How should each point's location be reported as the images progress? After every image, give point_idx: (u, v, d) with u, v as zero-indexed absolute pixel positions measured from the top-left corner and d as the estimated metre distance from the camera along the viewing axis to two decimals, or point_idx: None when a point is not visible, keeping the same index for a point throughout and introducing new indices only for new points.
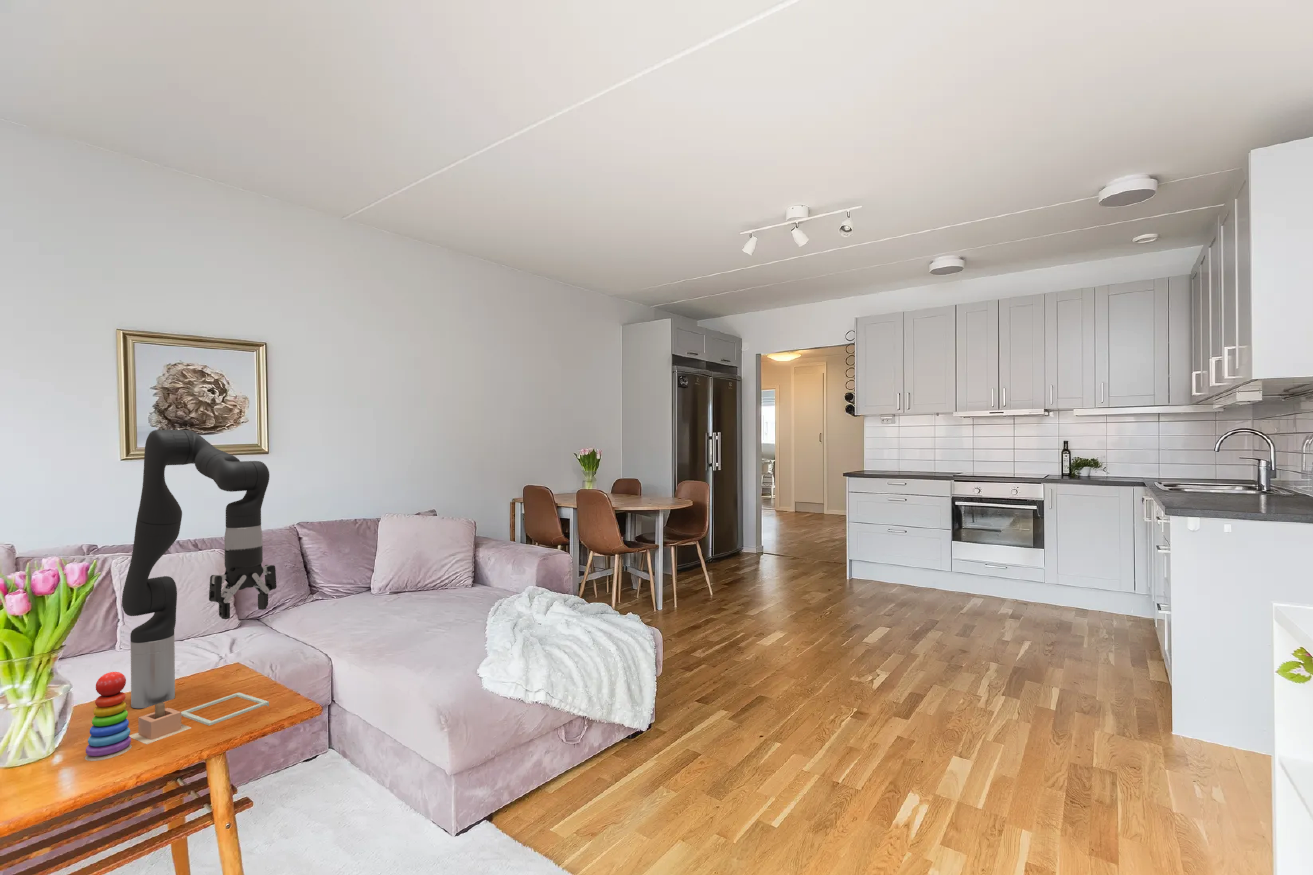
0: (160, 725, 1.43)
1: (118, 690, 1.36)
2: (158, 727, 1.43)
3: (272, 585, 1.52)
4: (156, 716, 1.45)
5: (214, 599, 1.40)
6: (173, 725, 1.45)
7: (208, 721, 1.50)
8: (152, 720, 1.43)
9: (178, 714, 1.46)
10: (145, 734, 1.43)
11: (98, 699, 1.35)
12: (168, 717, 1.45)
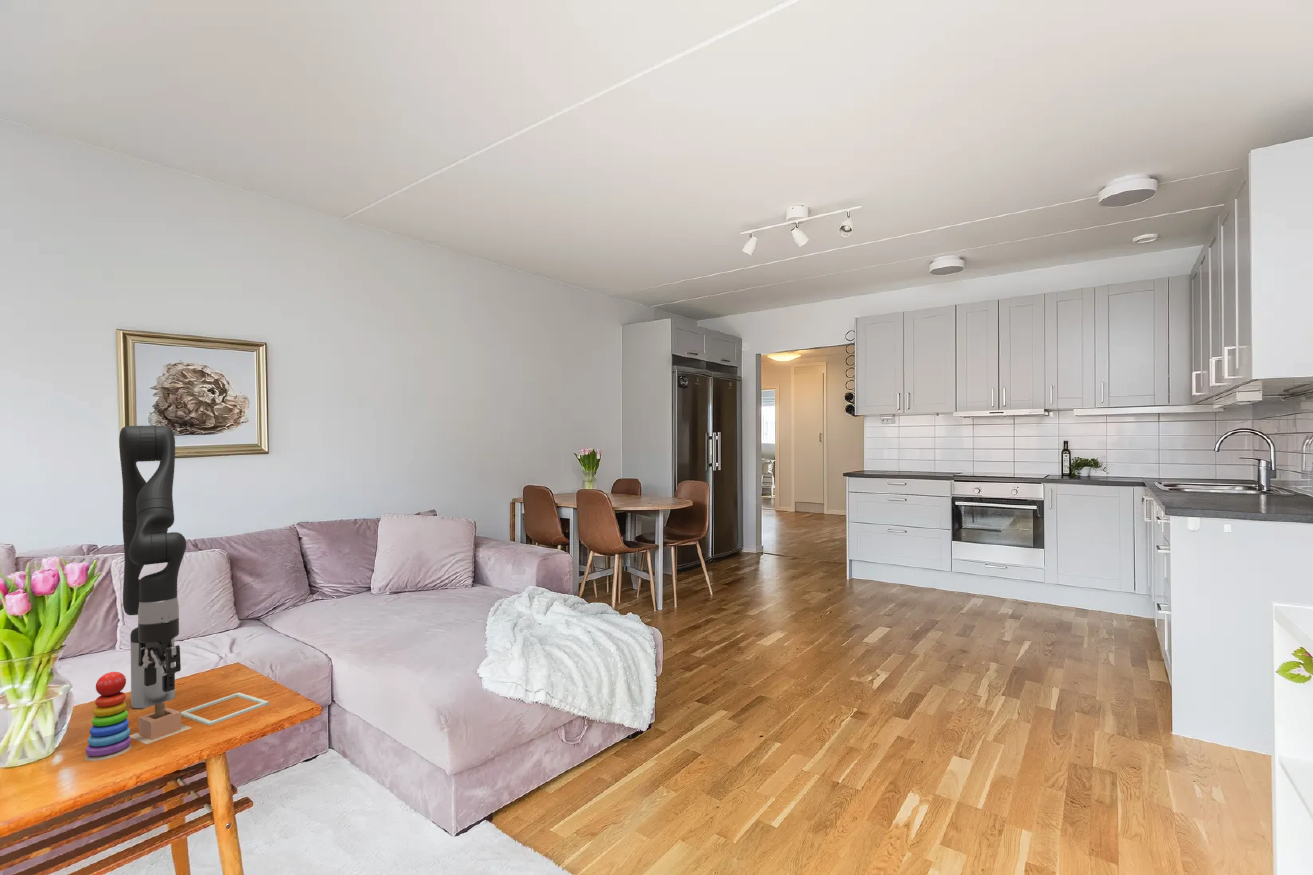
0: (160, 725, 1.43)
1: (118, 690, 1.36)
2: (158, 727, 1.43)
3: None
4: (156, 716, 1.45)
5: (178, 668, 1.43)
6: (173, 725, 1.45)
7: (208, 721, 1.50)
8: (152, 720, 1.43)
9: (178, 714, 1.46)
10: (145, 734, 1.43)
11: (98, 699, 1.35)
12: (168, 717, 1.45)
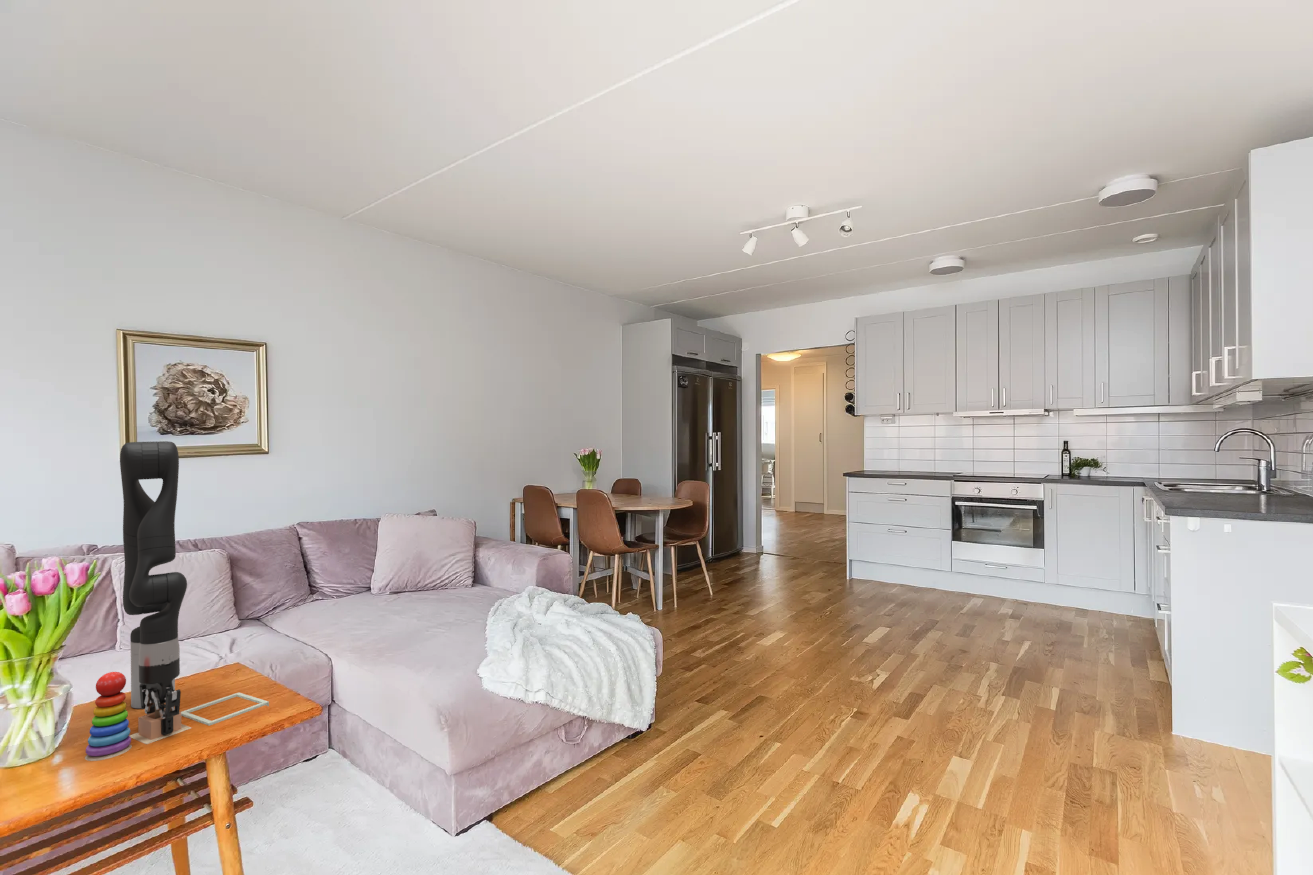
0: (160, 725, 1.43)
1: (118, 690, 1.36)
2: (158, 727, 1.43)
3: None
4: (156, 716, 1.45)
5: (177, 712, 1.43)
6: (173, 725, 1.45)
7: (208, 721, 1.50)
8: (152, 720, 1.43)
9: (178, 714, 1.46)
10: (145, 734, 1.43)
11: (98, 699, 1.35)
12: None
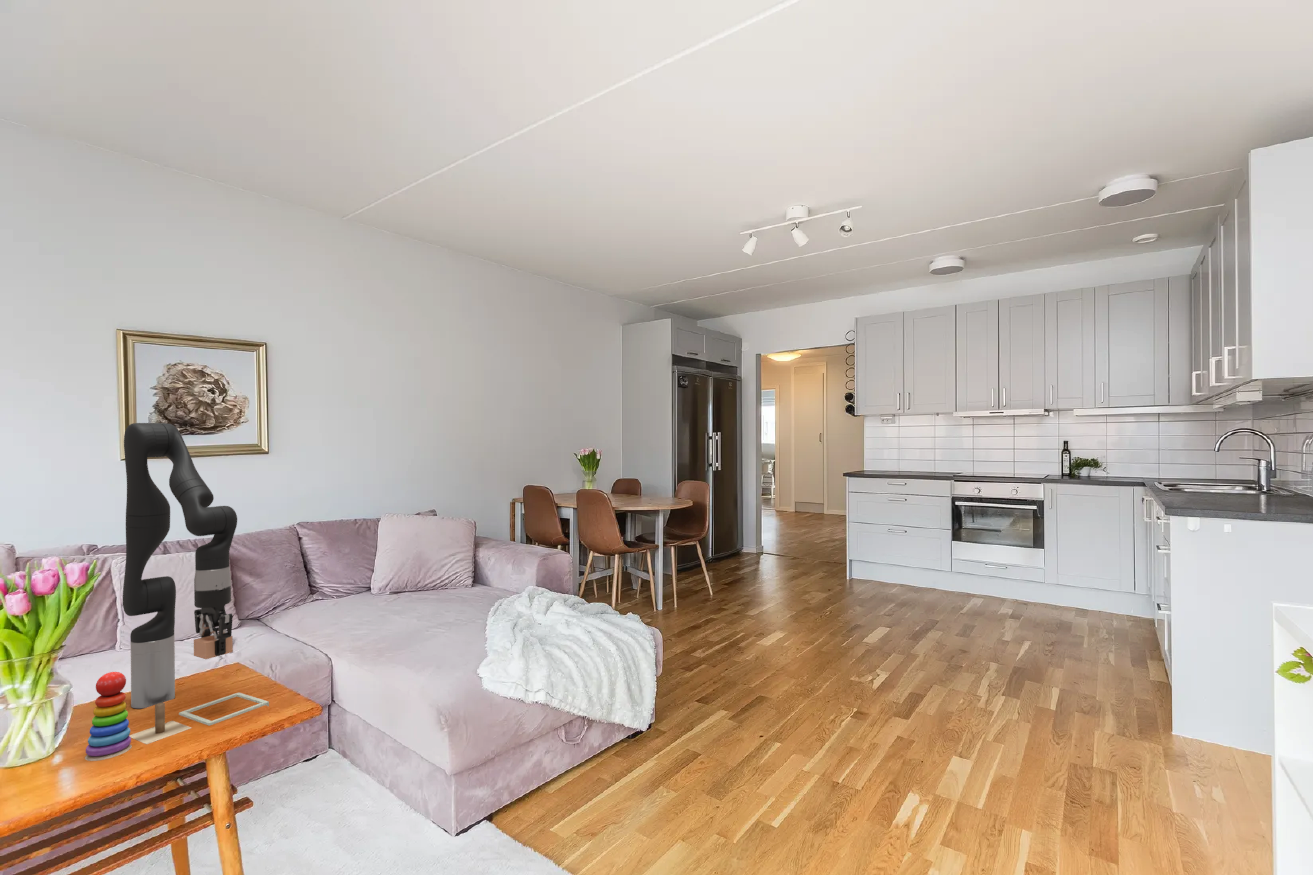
0: (214, 646, 1.53)
1: (118, 690, 1.36)
2: (212, 648, 1.53)
3: None
4: (156, 716, 1.45)
5: (229, 635, 1.54)
6: None
7: (208, 721, 1.50)
8: (206, 641, 1.53)
9: (230, 638, 1.57)
10: (200, 654, 1.53)
11: (98, 699, 1.35)
12: None
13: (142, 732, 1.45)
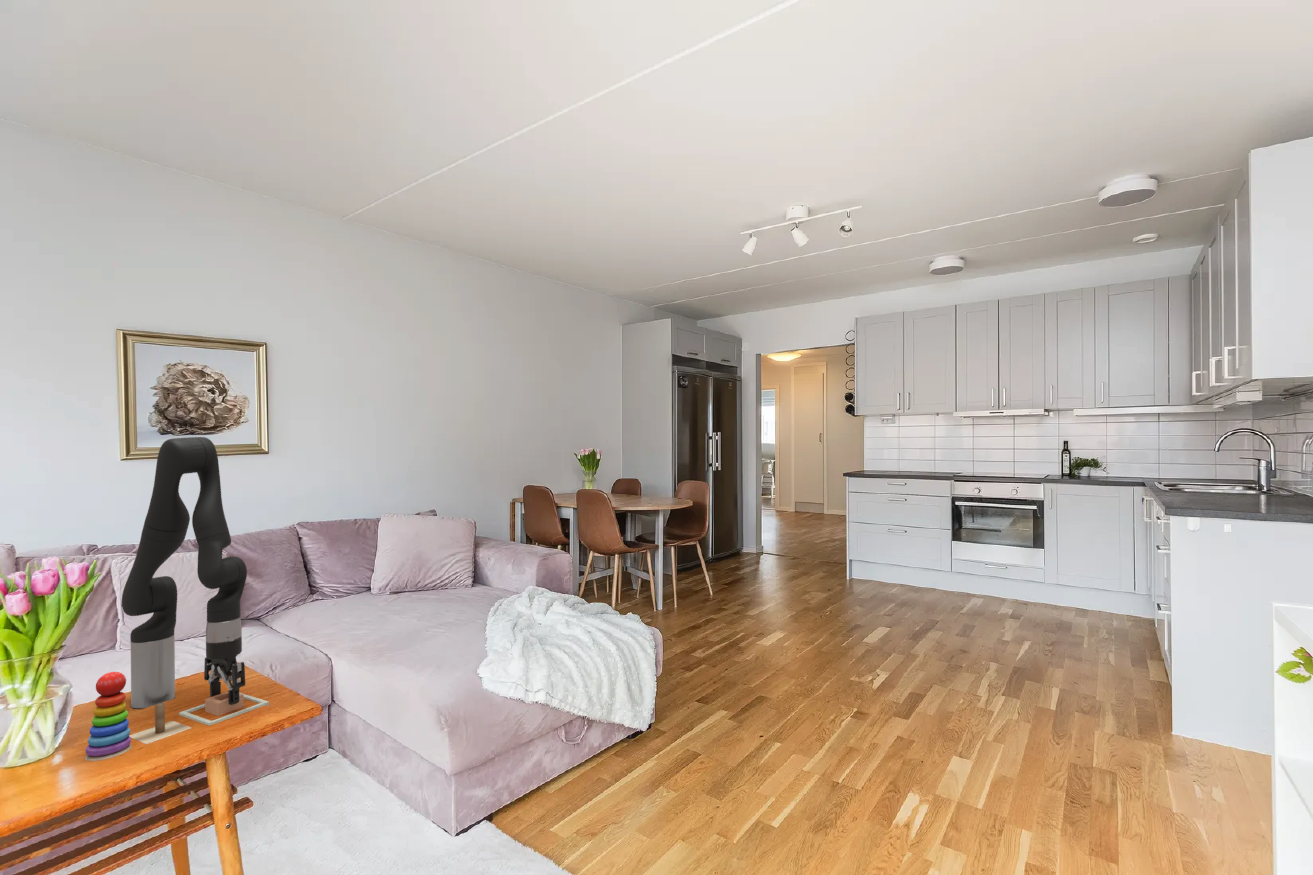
0: (226, 706, 1.56)
1: (118, 690, 1.36)
2: (224, 708, 1.55)
3: None
4: (156, 716, 1.45)
5: (243, 683, 1.55)
6: (237, 706, 1.58)
7: (208, 721, 1.50)
8: (218, 701, 1.55)
9: (241, 696, 1.59)
10: None
11: (98, 699, 1.35)
12: None
13: (142, 732, 1.45)
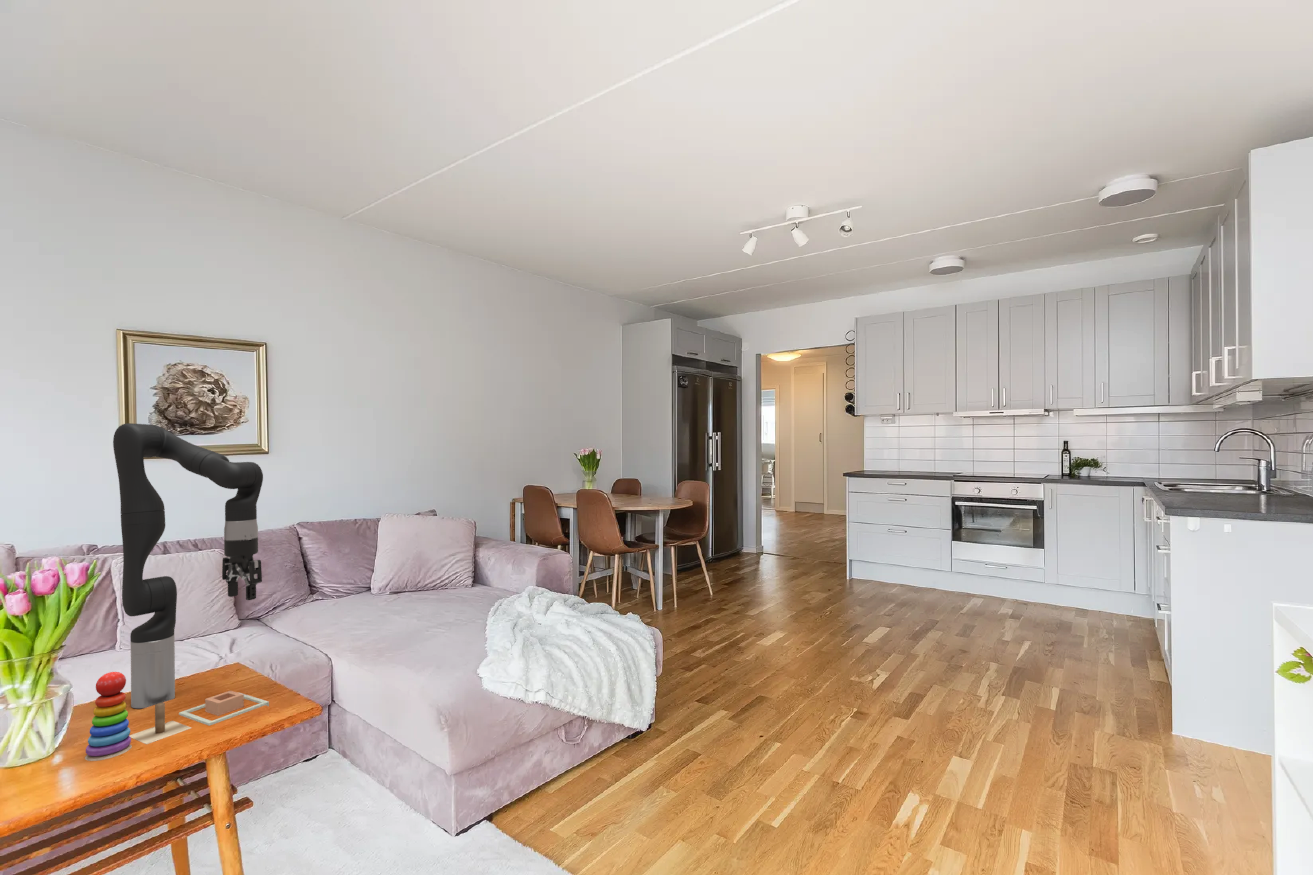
0: (226, 706, 1.56)
1: (118, 690, 1.36)
2: (224, 708, 1.55)
3: None
4: (156, 716, 1.45)
5: (260, 580, 1.62)
6: (237, 706, 1.58)
7: (208, 721, 1.50)
8: (218, 701, 1.55)
9: (241, 696, 1.59)
10: None
11: (98, 699, 1.35)
12: (232, 699, 1.57)
13: (142, 732, 1.45)
